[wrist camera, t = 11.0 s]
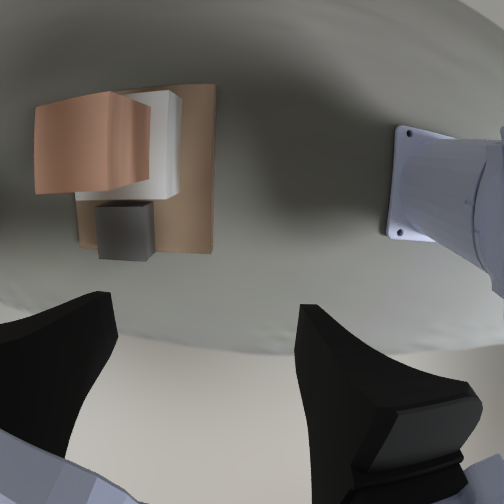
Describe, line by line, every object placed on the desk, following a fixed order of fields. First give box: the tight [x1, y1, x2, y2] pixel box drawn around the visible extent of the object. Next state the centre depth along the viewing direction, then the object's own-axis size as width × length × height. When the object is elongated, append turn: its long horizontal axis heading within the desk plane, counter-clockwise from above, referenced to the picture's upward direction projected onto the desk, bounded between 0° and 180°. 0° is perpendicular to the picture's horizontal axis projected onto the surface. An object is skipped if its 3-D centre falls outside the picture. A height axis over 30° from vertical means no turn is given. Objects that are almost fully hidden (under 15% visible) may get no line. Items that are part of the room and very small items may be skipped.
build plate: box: [75, 83, 217, 262], centre depth 17 cm, size 10×11×4 cm
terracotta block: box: [34, 91, 151, 195], centre depth 13 cm, size 4×4×5 cm
